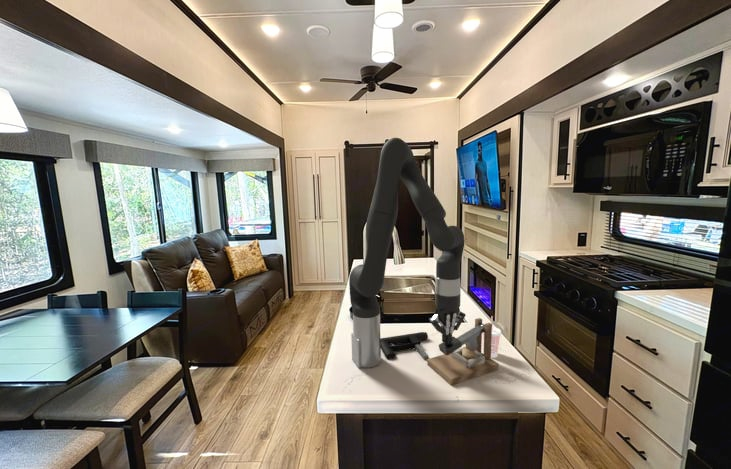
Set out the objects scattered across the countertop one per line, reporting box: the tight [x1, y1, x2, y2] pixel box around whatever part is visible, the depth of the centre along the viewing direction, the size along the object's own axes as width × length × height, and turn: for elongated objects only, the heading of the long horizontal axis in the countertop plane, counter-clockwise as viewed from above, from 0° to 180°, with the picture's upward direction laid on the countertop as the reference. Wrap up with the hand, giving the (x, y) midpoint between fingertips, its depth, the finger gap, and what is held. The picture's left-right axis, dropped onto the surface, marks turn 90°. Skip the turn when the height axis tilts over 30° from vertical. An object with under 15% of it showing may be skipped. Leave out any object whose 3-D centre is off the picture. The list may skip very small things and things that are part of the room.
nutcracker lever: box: [438, 322, 485, 355], centre depth 97 cm, size 18×4×6 cm, turn 113°
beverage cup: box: [482, 315, 502, 359], centre depth 105 cm, size 6×6×14 cm
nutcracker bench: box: [426, 317, 500, 386], centre depth 97 cm, size 19×12×14 cm, turn 113°
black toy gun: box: [380, 331, 429, 361], centre depth 110 cm, size 3×20×16 cm
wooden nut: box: [461, 346, 475, 360], centre depth 99 cm, size 4×4×4 cm
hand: (447, 343), depth 95 cm, fingers closed
